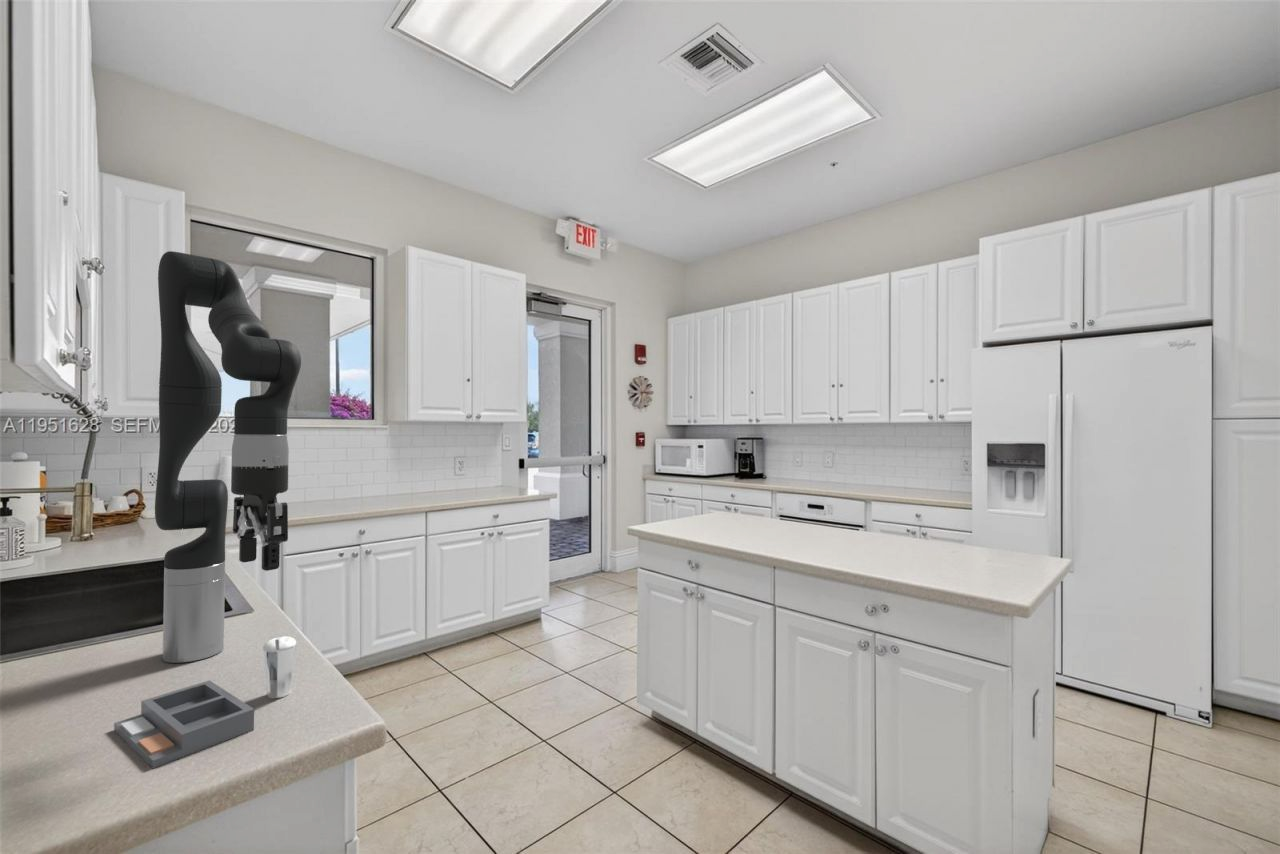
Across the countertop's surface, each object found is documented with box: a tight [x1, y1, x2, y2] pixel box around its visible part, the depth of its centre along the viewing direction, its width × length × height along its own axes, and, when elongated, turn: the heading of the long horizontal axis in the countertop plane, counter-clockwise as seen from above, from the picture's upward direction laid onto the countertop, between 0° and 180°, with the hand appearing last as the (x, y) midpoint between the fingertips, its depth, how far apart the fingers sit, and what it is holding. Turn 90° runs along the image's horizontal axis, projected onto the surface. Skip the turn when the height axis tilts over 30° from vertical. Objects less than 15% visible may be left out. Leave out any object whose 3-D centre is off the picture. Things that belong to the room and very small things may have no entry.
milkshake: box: [262, 636, 297, 700], centre depth 93 cm, size 5×5×10 cm
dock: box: [113, 680, 255, 769], centre depth 82 cm, size 16×12×3 cm
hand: (258, 565), depth 90 cm, fingers open, 8 cm apart
